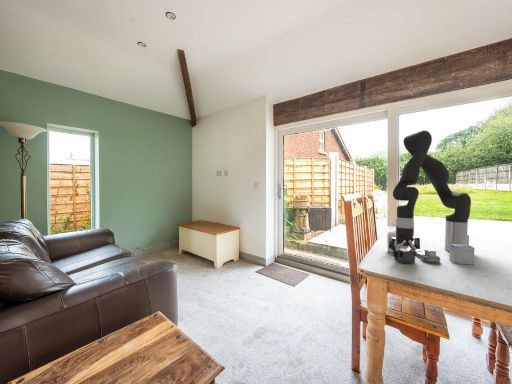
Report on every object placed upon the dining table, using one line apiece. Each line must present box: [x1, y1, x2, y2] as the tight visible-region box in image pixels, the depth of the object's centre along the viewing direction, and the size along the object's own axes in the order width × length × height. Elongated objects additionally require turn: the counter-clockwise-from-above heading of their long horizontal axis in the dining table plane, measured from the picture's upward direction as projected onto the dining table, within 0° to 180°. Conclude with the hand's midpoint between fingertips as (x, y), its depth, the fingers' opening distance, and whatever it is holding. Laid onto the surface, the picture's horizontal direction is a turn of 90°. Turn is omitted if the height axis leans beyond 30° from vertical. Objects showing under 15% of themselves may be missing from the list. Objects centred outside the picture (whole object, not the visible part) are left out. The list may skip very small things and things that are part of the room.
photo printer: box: [387, 230, 409, 253], centre depth 122 cm, size 10×4×12 cm, turn 39°
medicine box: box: [448, 244, 475, 265], centre depth 106 cm, size 8×4×9 cm, turn 71°
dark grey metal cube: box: [394, 247, 416, 265], centre depth 110 cm, size 6×6×6 cm
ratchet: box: [408, 247, 441, 265], centre depth 115 cm, size 8×18×6 cm, turn 0°
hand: (404, 257), depth 110 cm, fingers open, 8 cm apart
